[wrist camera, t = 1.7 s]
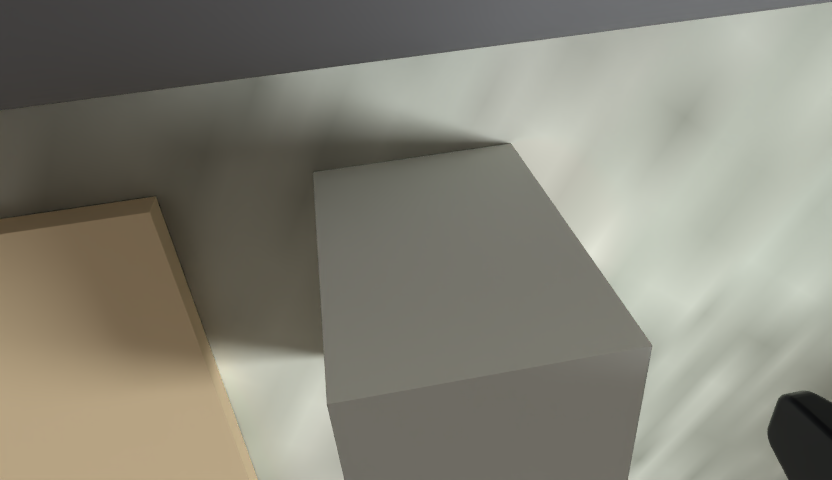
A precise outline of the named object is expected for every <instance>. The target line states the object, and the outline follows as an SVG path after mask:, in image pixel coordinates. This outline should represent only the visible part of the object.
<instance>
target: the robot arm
mask: <svg viewBox="0 0 832 480" xmlns="http://www.w3.org/2000/svg"><path fill="white" fill-rule="evenodd" d="M767 434H768V439H769V442H770V445H771V447H772V449H773V451H774V453H775V455H776V457H777V459H778V461H779V463H780V464H781V466H782V468H783V470H784V472H785V474H786V476H787V478H788V480H832V402H830V401H828V400H826V399H824V398H823V397H821V396H819V395H817V394H815V393H813V392H810V391H799V392H793V393H788V394H784V395H782V396H781V397H780V398H779V399H778V401H777V404H776V406H775V409H774V412H773V415H772V417H771V420H770V423H769V426H768V432H767Z"/></svg>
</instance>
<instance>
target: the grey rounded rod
mask: <svg viewBox="0 0 832 480" xmlns="http://www.w3.org/2000/svg"><path fill="white" fill-rule="evenodd" d="M826 2H832V0H0V110H6V109H14V108H22V107H29V106H37V105H45V104H52V103H60V102H68V101H75V100H83V99H91V98H98V97H106V96H114V95H121V94H129V93H137V92H144V91H152V90H160V89H167V88H175V87H183V86H190V85H198V84H206V83H213V82H221V81H229V80H236V79H244V78H252V77H259V76H267V75H275V74H282V73H290V72H298V71H305V70H313V69H320V68H328V67H336V66H343V65H351V64H359V63H366V62H374V61H382V60H389V59H397V58H405V57H412V56H420V55H428V54H435V53H443V52H451V51H458V50H466V49H474V48H481V47H489V46H497V45H504V44H512V43H520V42H527V41H535V40H543V39H550V38H558V37H566V36H573V35H581V34H589V33H596V32H604V31H612V30H619V29H627V28H635V27H642V26H650V25H658V24H665V23H673V22H681V21H688V20H696V19H704V18H711V17H719V16H727V15H734V14H742V13H750V12H757V11H765V10H773V9H780V8H788V7H796V6H803V5H811V4H819V3H826Z"/></svg>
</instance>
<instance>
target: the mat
mask: <svg viewBox="0 0 832 480" xmlns="http://www.w3.org/2000/svg"><path fill="white" fill-rule="evenodd" d="M0 480H258V479H257V476H256V473H255V470H254V468H253V465H252V462H251V459H250V457H249V454H248V451H247V448H246V445H245V443H244V440H243V437H242V434H241V432H240V429H239V426H238V423H237V420H236V418H235V415H234V412H233V409H232V407H231V404H230V401H229V398H228V395H227V393H226V390H225V387H224V384H223V382H222V379H221V376H220V373H219V371H218V368H217V365H216V362H215V359H214V357H213V354H212V351H211V348H210V346H209V343H208V340H207V337H206V334H205V332H204V329H203V326H202V323H201V321H200V318H199V315H198V312H197V309H196V307H195V304H194V301H193V298H192V296H191V293H190V290H189V287H188V284H187V282H186V279H185V276H184V273H183V271H182V268H181V265H180V262H179V259H178V257H177V254H176V251H175V248H174V246H173V243H172V240H171V237H170V234H169V232H168V229H167V226H166V223H165V221H164V218H163V215H162V212H161V210H160V207H159V204H158V201H157V198H156V196H155V197H148V198H141V199H134V200H127V201H121V202H114V203H107V204H100V205H93V206H86V207H79V208H73V209H66V210H59V211H52V212H45V213H38V214H32V215H25V216H18V217H11V218H4V219H0Z"/></svg>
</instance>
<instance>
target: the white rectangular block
mask: <svg viewBox="0 0 832 480" xmlns="http://www.w3.org/2000/svg"><path fill="white" fill-rule="evenodd" d="M313 182H314V199H315V215H316V232H317V248H318V265H319V281H320V298H321V314H322V331H323V347H324V364H325V380H326V397H327V407H328V411H329V415H330V420H331V424H332V428H333V432H334V437H335V441H336V445H337V450H338V454H339V458H340V462H341V467H342V471H343V475H344V480H628V475H629V470H630V464H631V459H632V453H633V448H634V442H635V437H636V432H637V426H638V421H639V415H640V410H641V405H642V399H643V394H644V388H645V383H646V377H647V372H648V367H649V361H650V356H651V350H652V344H651V343H650V341H649V340H648V339H647V337H646V336H645V334H644V333H643V331H642V330H641V329H640V327H639V326H638V324H637V323H636V321H635V320H634V319H633V317H632V316H631V314H630V313H629V311H628V310H627V309H626V307H625V306H624V304H623V303H622V301H621V300H620V299H619V297H618V296H617V294H616V293H615V291H614V290H613V288H612V287H611V286H610V284H609V283H608V281H607V280H606V278H605V277H604V276H603V274H602V273H601V271H600V270H599V268H598V267H597V266H596V264H595V263H594V261H593V260H592V258H591V257H590V256H589V254H588V253H587V251H586V250H585V248H584V247H583V246H582V244H581V243H580V241H579V240H578V238H577V237H576V236H575V234H574V233H573V231H572V230H571V228H570V227H569V226H568V224H567V223H566V221H565V220H564V218H563V217H562V216H561V214H560V213H559V211H558V210H557V208H556V207H555V206H554V204H553V203H552V201H551V200H550V198H549V197H548V196H547V194H546V193H545V191H544V190H543V188H542V187H541V186H540V184H539V183H538V181H537V180H536V178H535V177H534V176H533V174H532V173H531V171H530V170H529V168H528V167H527V166H526V164H525V163H524V161H523V160H522V158H521V157H520V156H519V154H518V153H517V151H516V150H515V148H514V147H513V146H512V144H511V143H510V144H503V145H496V146H489V147H483V148H476V149H469V150H462V151H455V152H448V153H441V154H435V155H428V156H421V157H414V158H407V159H400V160H393V161H386V162H380V163H373V164H366V165H359V166H352V167H345V168H338V169H331V170H325V171H318V172H313Z"/></svg>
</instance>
